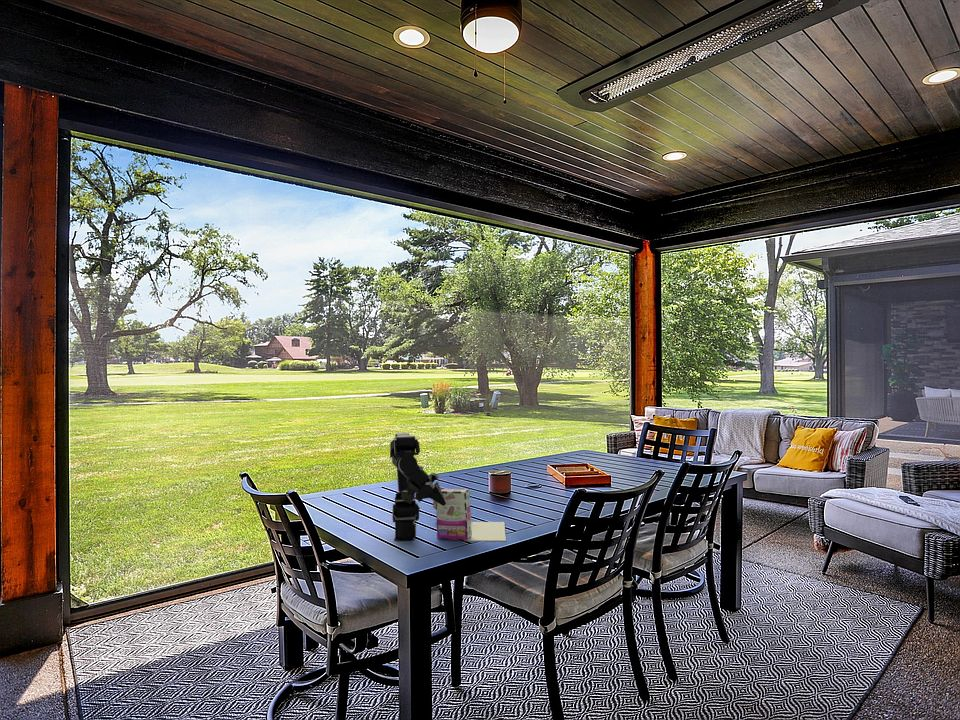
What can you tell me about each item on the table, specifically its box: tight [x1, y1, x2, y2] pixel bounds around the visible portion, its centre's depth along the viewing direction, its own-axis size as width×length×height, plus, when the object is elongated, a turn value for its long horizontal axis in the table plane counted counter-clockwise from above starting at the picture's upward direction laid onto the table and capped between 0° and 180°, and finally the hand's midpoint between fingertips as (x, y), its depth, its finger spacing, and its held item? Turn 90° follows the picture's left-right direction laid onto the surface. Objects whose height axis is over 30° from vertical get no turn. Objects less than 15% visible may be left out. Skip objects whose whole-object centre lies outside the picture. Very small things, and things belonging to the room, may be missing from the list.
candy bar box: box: [435, 488, 472, 541], centre depth 195 cm, size 11×5×16 cm, turn 73°
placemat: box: [463, 521, 507, 542], centre depth 203 cm, size 14×22×1 cm, turn 179°
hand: (444, 504), depth 189 cm, fingers closed
